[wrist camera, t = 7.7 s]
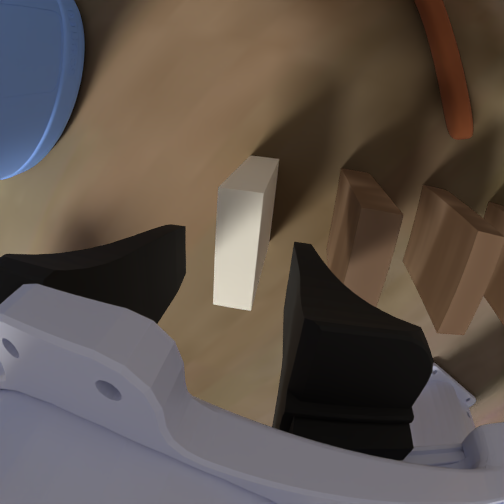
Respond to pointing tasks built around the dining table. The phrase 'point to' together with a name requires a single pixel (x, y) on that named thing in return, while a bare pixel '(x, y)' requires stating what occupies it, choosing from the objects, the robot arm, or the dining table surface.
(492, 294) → the walnut domino
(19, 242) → the dining table surface
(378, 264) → the walnut domino
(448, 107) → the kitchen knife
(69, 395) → the robot arm
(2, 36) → the water jug
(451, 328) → the walnut domino
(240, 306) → the cream domino
